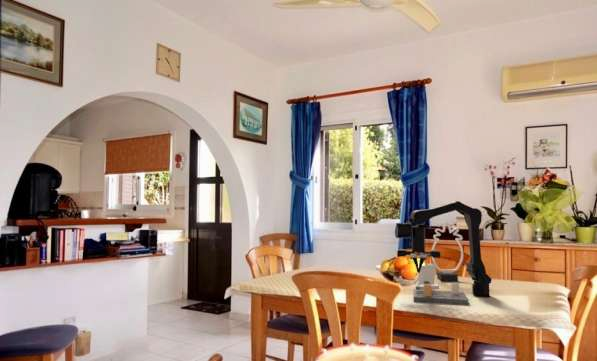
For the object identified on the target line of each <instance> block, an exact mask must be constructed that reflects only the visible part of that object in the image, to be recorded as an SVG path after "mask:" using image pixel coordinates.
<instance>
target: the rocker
mask: <svg viewBox="0 0 597 361" xmlns="http://www.w3.org/2000/svg"><path fill="white" fill-rule="evenodd" d="M431 285H432V286H431V289H433V290H440V285H439V284H438V283H434V284H431ZM415 290H424V285H418V284H415Z"/></svg>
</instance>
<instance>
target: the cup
mask: <svg viewBox="0 0 597 361" xmlns="http://www.w3.org/2000/svg"><path fill="white" fill-rule="evenodd" d="M424 264H425V266H422V267H421V270H420V273H419V276H418V279H417V283H418V284H417V285H424V281H429V282H430V284H435V279H436V274H437V271H436V270H437V269H436V266H435V265H434V263H424ZM431 290H434V289H431Z"/></svg>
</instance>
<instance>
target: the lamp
mask: <svg viewBox="0 0 597 361" xmlns="http://www.w3.org/2000/svg"><path fill="white" fill-rule="evenodd" d="M446 225H447V226H446ZM446 227H448V232H449V234H451V233H452V235H453V236H456V238H455V241H456V243H457V244H458V245H457V246H459V251H460V257H459V258H460V259H459V262H458V263H457V265H456V267H455V268H452V269H449V268H447V269H442V268H440V267H439V266H438V264H437V263H436V260H435V258H433V257H432V256H431V260H432V264H434V265H435V269H436V270H439V271H436V275H437V276H436V279H437V280H438V281H440V282H443V283H444V282H446V283H447V282H449V283H451V282H459V280H458V279H459V278H458V277H459V274H457V273H456V271H457V270H459V269H460V267H461V265H462V263H463V260H464V249H463V246H462V243H461V242H460V241H462V240H463V235H461V234H459V231H460V230H459V228H458V227H453V228H452V226H451V223H449V222H448V221H444V222H443V224H442V229H441V228H435V229H434V232H435V233H436V234H433V236H432V237H433V240H434V242H433V244H432V247H431V250H435V247H436V245H437V243H438V242H439V241H440V239H439V238H438V237H440V236H441V233H445V232H446ZM438 231H439V232H438Z"/></svg>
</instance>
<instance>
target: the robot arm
mask: <svg viewBox="0 0 597 361" xmlns="http://www.w3.org/2000/svg"><path fill="white" fill-rule="evenodd" d="M455 211H456V212H457V213H459V214H460V215H462V216H463V218H464V221H465V223H466V226H467V228H468V229H467V231H468V242H469V245H468V246H469V254H470V255H469V257H470V259H469V260H468V261H469V262H468V261H467V262H466V263H465V265H466V272H467V273H468V276H469V277H471V280H472V281H473V283H472V286H471V287H472V289H471V290H472V291H471V292H472V294H473V295H474V297H482V298H491V295H490V284H491V283H492V278H491V277H490V276H489V275H488V274H487V271H486V266H485V264H484V262H483V259H482V253H481V252H482V250H481V238H480V235H481V234H480V227H481V224H482V221H483V220H482V219H483V218H482V217H483V214H482V213H483V212H482V211H481V210H480V209H479V208H475V207H472V206H469V205H467V204H464V203H463V202H461V201H458V200H456V201H455V200H453V201H452V202H449V203H446V204H442V205H439V206H436V207H435V206H434V207H431V208H428V209H427V208H426V209H416V210H413V211H411V213H410V218H409V219H408V220H407V222H405V223H399V222H396V223H395V224H396V225H395V229H394V236H395V237H394V238H396V239H409V238H410V237H411V241H409V242H408V250H407V249H404V248H399V249H397V252H396V255H397V257H401V258H402V257H406V256H410V258H409V259H410V260H413V263H414V265H415V268H416V269H417V272H418V273H420V270H421V267H422V264H423V263H424V262H425V260H427V259H428V257H431V258H432V257H433V258H434V259H440V258H441V251H440V250H437V249H434V250H432V249H430V251H426V229H430V226H429V225H428V224H427V221H429V220H431V219H432V218H435V217H437V216H441V215H445V214H448V213H452V212H455ZM417 256H419V263H418V257H417ZM418 264H419V268H418ZM416 269H415V270H416ZM417 272H416V273H417Z"/></svg>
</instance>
